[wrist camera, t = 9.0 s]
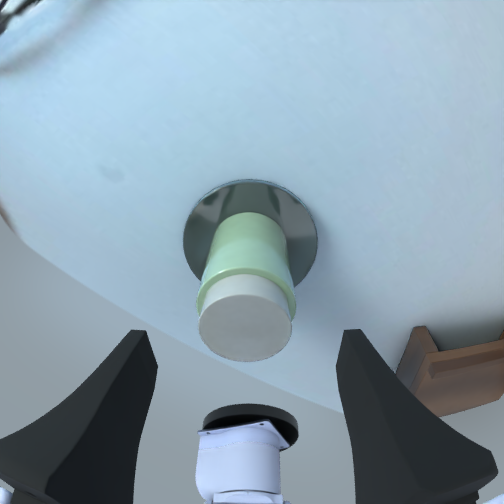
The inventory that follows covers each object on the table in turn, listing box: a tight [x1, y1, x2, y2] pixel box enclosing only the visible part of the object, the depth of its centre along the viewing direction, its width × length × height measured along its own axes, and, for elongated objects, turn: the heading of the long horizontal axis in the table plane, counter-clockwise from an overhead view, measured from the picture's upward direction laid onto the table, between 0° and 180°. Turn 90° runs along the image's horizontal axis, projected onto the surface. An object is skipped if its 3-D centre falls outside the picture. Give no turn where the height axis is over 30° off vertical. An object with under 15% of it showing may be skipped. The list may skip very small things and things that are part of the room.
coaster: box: [183, 179, 318, 287], centre depth 19 cm, size 8×8×1 cm
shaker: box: [196, 212, 296, 362], centre depth 16 cm, size 4×4×7 cm
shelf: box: [395, 326, 504, 417], centre depth 23 cm, size 9×13×5 cm
